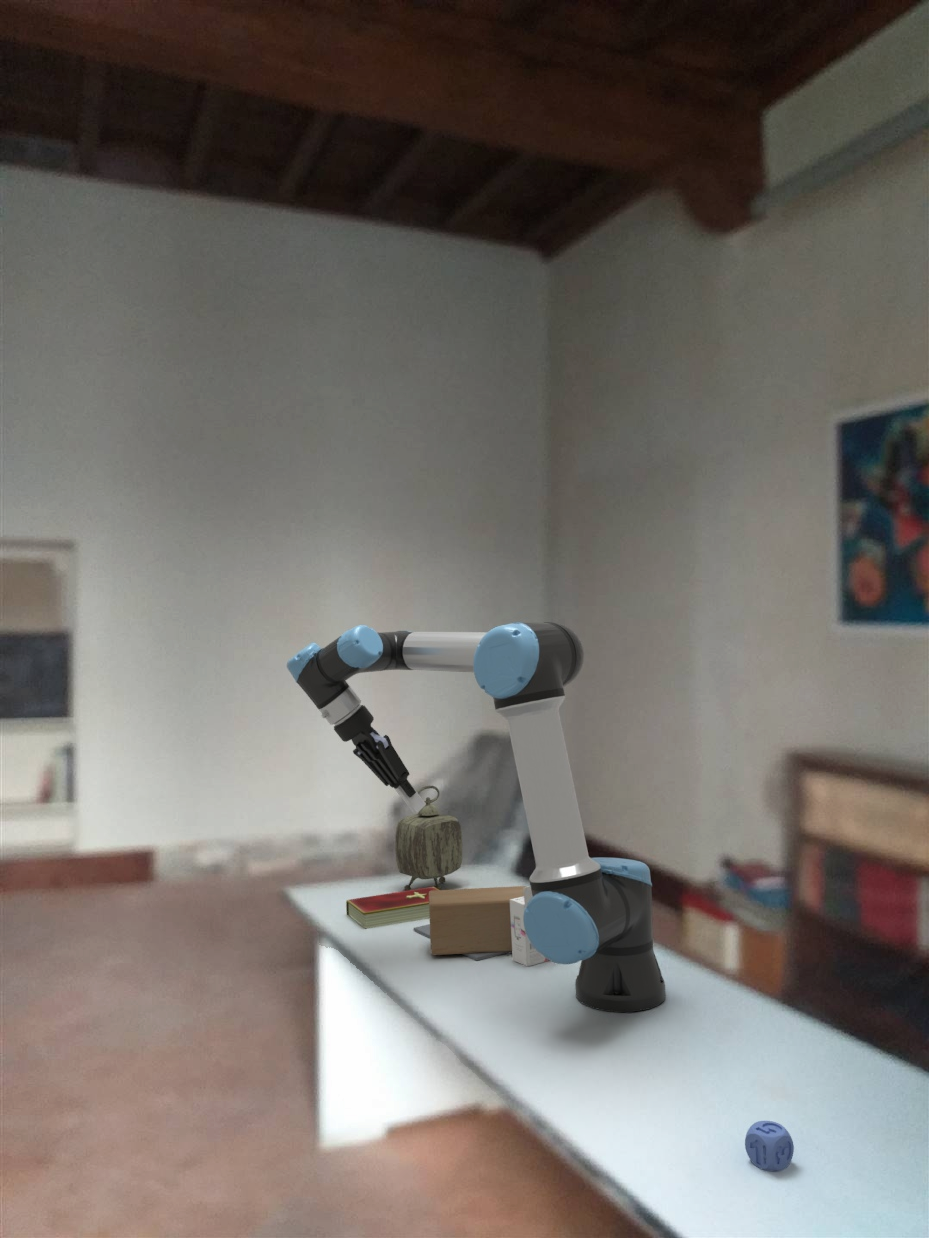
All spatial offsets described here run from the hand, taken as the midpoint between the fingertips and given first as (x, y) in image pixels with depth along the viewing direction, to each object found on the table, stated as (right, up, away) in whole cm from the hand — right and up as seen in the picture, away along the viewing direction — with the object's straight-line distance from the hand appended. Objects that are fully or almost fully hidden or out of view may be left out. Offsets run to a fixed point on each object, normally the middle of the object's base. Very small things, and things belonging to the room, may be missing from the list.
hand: (420, 808), depth 200 cm
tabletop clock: (+1, -28, +44) cm, 52 cm away
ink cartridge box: (+22, -27, -8) cm, 36 cm away
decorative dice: (+45, -27, -81) cm, 96 cm away
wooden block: (+2, -22, -1) cm, 22 cm away
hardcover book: (-5, -29, +25) cm, 38 cm away
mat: (+13, -27, +8) cm, 31 cm away
